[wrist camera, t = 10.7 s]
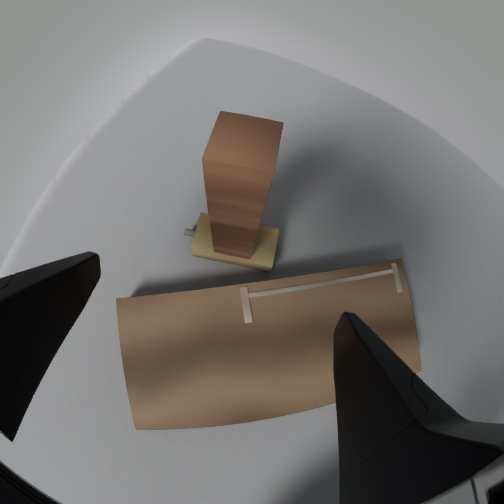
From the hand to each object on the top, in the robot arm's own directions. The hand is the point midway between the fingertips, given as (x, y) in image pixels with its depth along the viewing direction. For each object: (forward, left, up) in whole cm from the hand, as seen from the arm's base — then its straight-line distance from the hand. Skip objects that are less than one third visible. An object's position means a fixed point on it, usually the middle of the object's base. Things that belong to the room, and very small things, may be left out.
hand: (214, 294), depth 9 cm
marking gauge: (+5, -2, -11) cm, 13 cm away
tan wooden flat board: (-3, -4, -11) cm, 12 cm away
